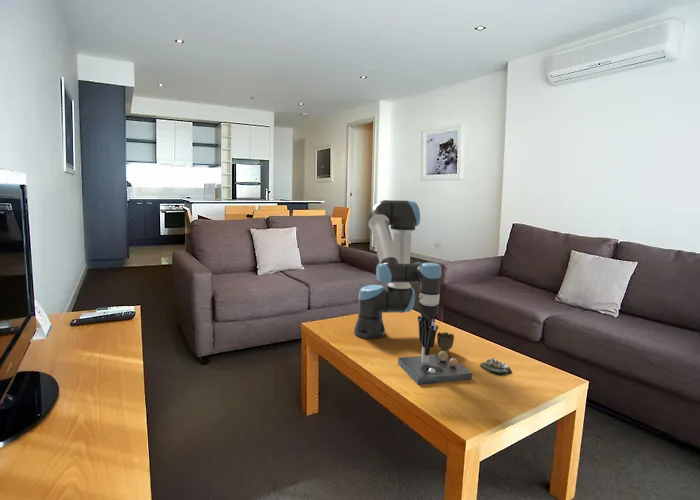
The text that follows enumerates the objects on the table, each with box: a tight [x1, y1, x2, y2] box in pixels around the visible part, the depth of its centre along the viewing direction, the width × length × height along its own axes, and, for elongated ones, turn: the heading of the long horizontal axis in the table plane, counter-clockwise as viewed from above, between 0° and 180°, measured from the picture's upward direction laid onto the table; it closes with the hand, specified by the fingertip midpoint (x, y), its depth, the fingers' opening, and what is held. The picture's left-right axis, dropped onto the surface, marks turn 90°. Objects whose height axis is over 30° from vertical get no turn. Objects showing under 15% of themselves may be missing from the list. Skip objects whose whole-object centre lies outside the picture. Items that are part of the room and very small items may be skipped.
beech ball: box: [437, 351, 449, 361], centre depth 168 cm, size 4×4×4 cm
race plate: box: [397, 354, 473, 386], centre depth 165 cm, size 19×22×2 cm
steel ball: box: [427, 368, 436, 373], centre depth 159 cm, size 3×3×3 cm
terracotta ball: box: [449, 357, 459, 367], centre depth 164 cm, size 3×3×3 cm
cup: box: [436, 331, 455, 354], centre depth 184 cm, size 8×7×8 cm
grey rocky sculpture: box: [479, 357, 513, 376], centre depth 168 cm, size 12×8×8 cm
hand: (425, 361), depth 165 cm, fingers closed
